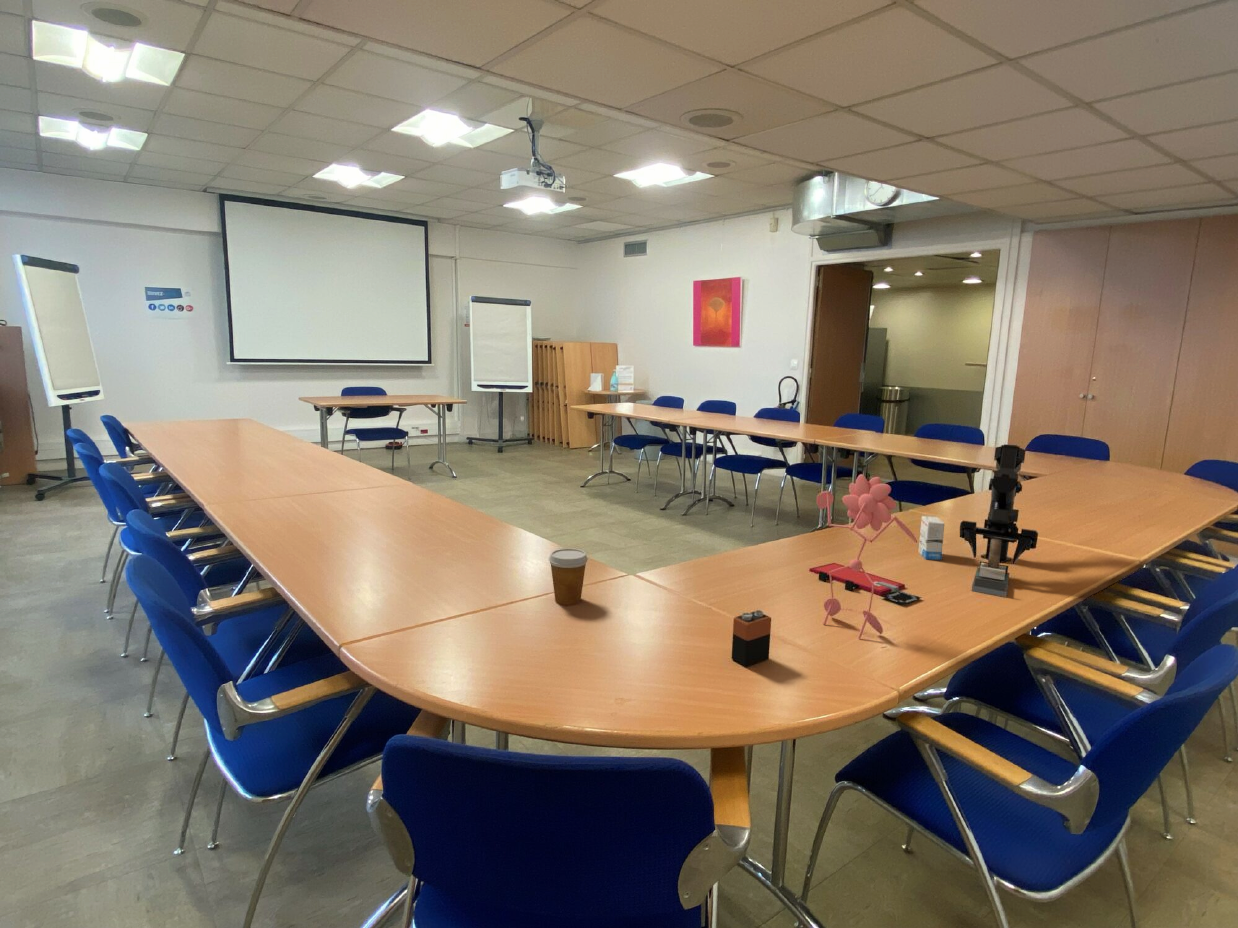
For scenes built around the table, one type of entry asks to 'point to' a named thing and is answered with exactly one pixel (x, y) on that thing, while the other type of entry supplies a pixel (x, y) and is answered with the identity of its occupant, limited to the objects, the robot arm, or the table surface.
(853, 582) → the red board with handle
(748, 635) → the battery
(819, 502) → the figurine
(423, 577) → the table surface
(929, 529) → the ink box
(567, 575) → the disposable coffee cup
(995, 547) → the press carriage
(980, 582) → the rail
